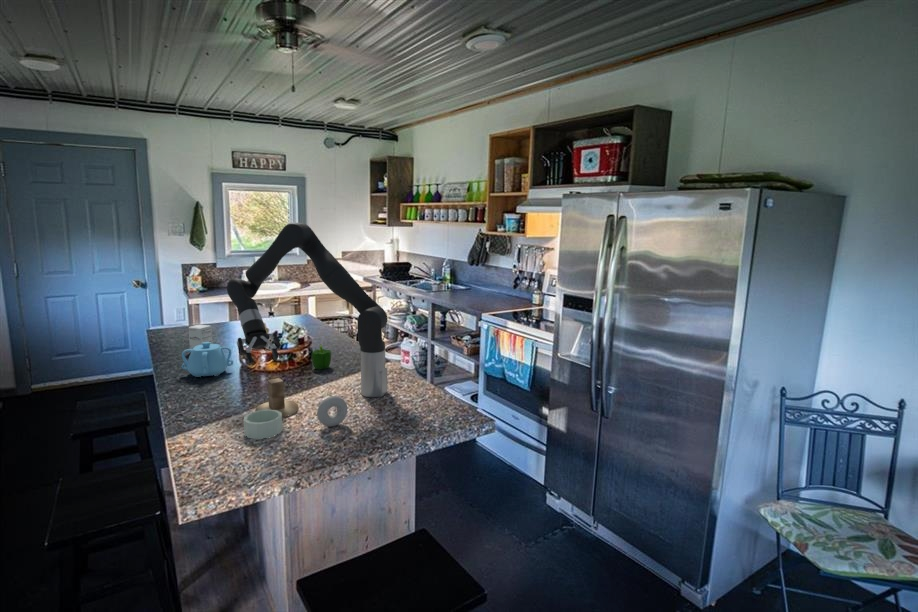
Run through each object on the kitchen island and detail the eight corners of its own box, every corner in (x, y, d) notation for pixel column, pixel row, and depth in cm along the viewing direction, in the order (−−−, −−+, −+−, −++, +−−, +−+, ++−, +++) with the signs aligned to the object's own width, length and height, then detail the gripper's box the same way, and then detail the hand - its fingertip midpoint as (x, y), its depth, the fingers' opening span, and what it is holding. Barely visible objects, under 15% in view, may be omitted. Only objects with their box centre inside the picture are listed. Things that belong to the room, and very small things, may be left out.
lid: (289, 400, 184) (288, 371, 182) (304, 412, 173) (303, 382, 171) (249, 409, 175) (247, 379, 173) (263, 422, 165) (261, 390, 163)
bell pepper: (328, 371, 218) (328, 348, 216) (309, 370, 218) (308, 348, 216) (333, 365, 226) (333, 343, 224) (315, 364, 226) (314, 343, 224)
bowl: (289, 426, 162) (288, 411, 161) (270, 440, 152) (269, 425, 151) (258, 422, 164) (257, 408, 163) (237, 437, 154) (236, 421, 153)
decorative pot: (178, 375, 209) (175, 343, 207) (214, 365, 223) (211, 335, 220) (201, 382, 201) (198, 349, 198) (237, 372, 214) (235, 341, 212)
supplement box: (189, 352, 241) (187, 327, 239) (201, 349, 248) (199, 323, 246) (202, 354, 239) (200, 328, 237) (213, 350, 246) (212, 325, 244)
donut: (345, 420, 167) (344, 392, 165) (349, 424, 164) (348, 395, 163) (315, 427, 162) (314, 397, 160) (319, 431, 159) (318, 401, 157)
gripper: (233, 320, 180) (245, 359, 173) (274, 316, 189) (286, 352, 182) (230, 332, 185) (241, 370, 178) (269, 327, 194) (281, 363, 187)
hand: (264, 361), depth 180 cm, fingers open, 8 cm apart
